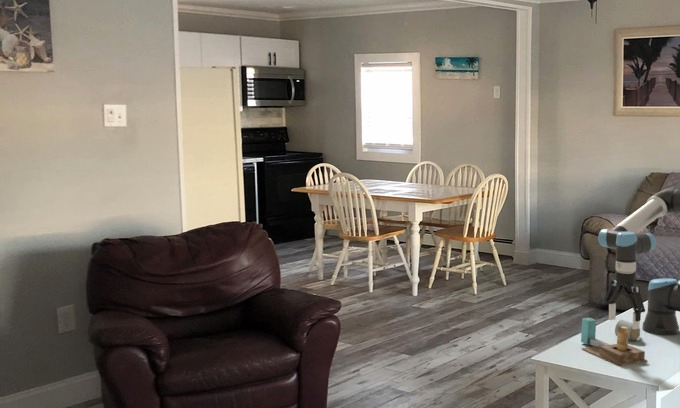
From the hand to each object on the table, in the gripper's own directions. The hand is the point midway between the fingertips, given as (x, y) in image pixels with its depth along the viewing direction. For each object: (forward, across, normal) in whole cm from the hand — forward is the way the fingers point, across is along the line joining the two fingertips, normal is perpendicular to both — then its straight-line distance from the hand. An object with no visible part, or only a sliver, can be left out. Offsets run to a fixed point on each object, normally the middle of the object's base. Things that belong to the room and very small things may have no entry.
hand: (623, 324), depth 319 cm
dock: (+14, -4, -1) cm, 15 cm away
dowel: (+14, 0, -1) cm, 14 cm away
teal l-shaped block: (+13, -13, -1) cm, 19 cm away
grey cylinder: (+15, -21, +21) cm, 33 cm away
